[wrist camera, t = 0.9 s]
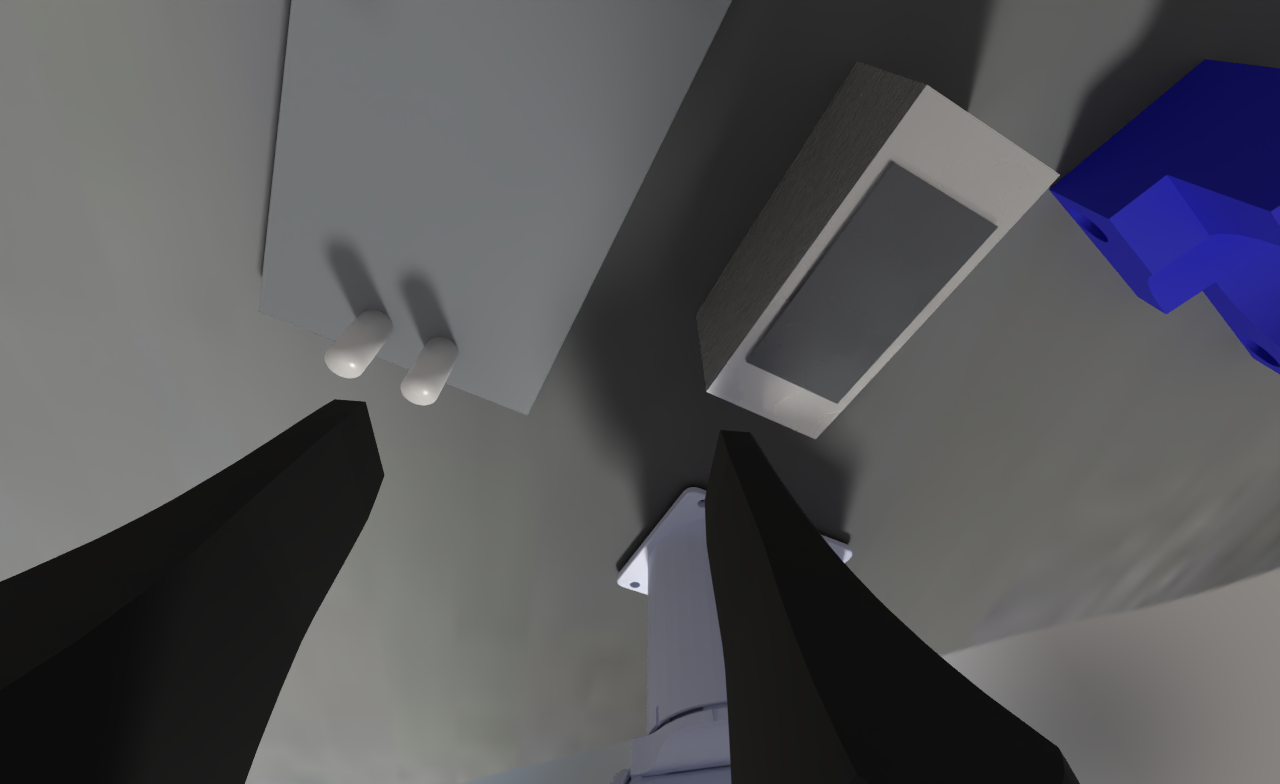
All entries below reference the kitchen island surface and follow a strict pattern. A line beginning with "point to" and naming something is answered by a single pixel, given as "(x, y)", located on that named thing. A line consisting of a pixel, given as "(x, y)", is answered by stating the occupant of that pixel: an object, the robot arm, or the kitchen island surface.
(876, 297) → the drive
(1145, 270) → the cable clip
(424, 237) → the pin tray
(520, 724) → the kitchen island surface
